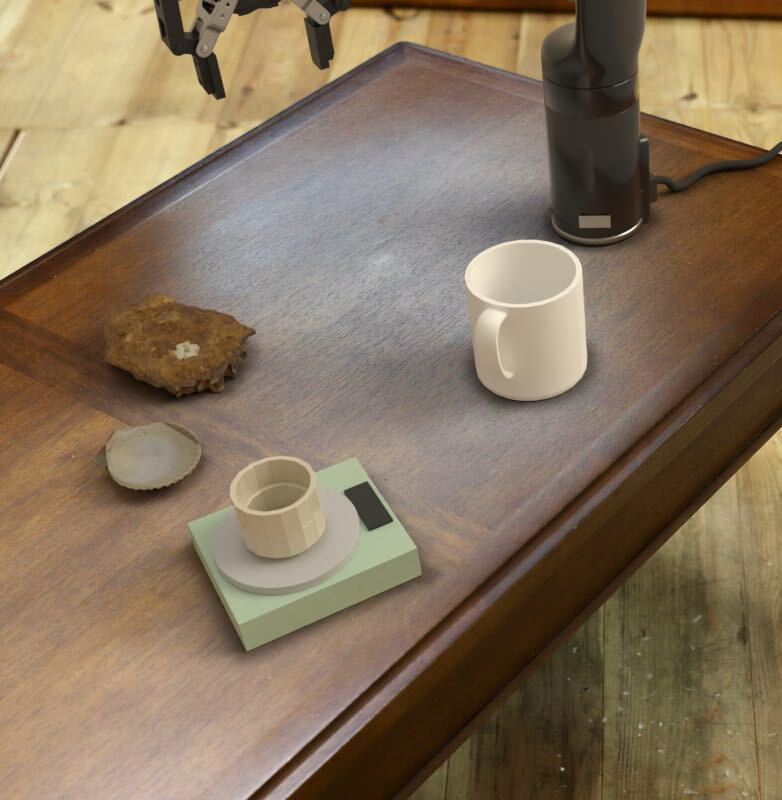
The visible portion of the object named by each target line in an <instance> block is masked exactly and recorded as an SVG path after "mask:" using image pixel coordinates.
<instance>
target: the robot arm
mask: <svg viewBox="0 0 782 800" xmlns="http://www.w3.org/2000/svg"><path fill="white" fill-rule="evenodd" d="M282 1H283V0H198V2H197V5H196V7H195V11H194V12H195V16H194V18H193V21H192V23H191V25H190V27H189V30H188V31H185V29H184V23H183V19H182V14H181V8H180V2H182V0H153V4H154V10H155V15H156V18H157V19H156V20H157V24H158V30H159V34H160V40H161V41H162V42H163V44H164V45H165V47H166V48H168V50H169V51H170V52H171V53H172V54H173V56H176V57H182V56H183V55H190V56H191V57H192V62H193V66H194V69H195V70H194V71H195V73H196V77H197V81H198V84H199V85H200V86H201V87H202V89H203V90H204V92H206V94H207V95H208V96H210V95H212V96H213V98H214V99H215V101H219V100H222V99H227V94H226V90H225V87H224V82H223V78H222V73H221V69H220V65H219V61H218V57H217V54H216V53H215V52H214V48H215V46H216V44H217V42H218V39H219V38H220V35H221V34H222V33H224V32H225V31H226V30H227V27H228V24H229V23H230V20H231V18H232V16H233V15H237V16H238V17H242V16H247V15H250V14H252V13H253V12H255V11H257V10H259V9H260V10H261V9H266V10H267V9H268V10H269V9H273V8H276V7H279V6H280V5H279V3H280V2H282ZM290 1H291V2H292V3H293V4H294V5H295V6H296V7H297V8H299V9H300V10H301V11H303V13H305V14H306V17H303V21H304V27H305V31H306V37H307V42H308V47H309V53H310V58H311V60H312V63H313V65H314V66H315V67H317V68H318V70H319V71H323V70H327V69H330V67H331V65H330V61H332V60H334V57H335V47H334V42H333V37H332V31H331V26H330V25H331V24H330V22H331V19H332V17H333V16H334V15H336V14H338V13H339V12H346V11H347V10H349V8H350V7H351V4H352V3H351V2H352V1H351V0H290ZM568 1H569V2H572V3H575V20H574V21H571V22H568V23H565V24H562V25H560V26H558V27H556V28H554V29H553V30H551V31H550V32H548V34H547V35H545V36H544V38H543V41H542V42H541V46H540V63H541V64H540V65H541V78H542V91H543V105H544V118H545V119H544V120H545V129H546V130H545V132H546V147H547V159H548V161H547V162H548V173H549V189H550V202H551V203H550V209H551V214H550V215H551V216H550V217H551V226H552V228H553V230H554V231H555V233H556V234H557V235H559V236H560V237H562V239H565V240H567V241H570V242H572V243H575V244H580V245H588V246H600V245H601V246H603V245H610V244H614V243H618V242H621V241H623V240H626V239H628V238H630V237H631V236H633V235H635V233H637V232H638V231H639V230H640V228H641V227H642V225H643V224H644V223H647V222H649V221H650V220H651V204H654V203H656V202H658V185H664V186H666V187H667V189H669V190H670V191H672V192H681V191H684V190H687V188H690V187H691V185H693V184H694V183H696V182H697V181H698V180H700V179H701V178H702V177H704V176H705V175H707V174H710V173H714V172H718V171H723V170H733V169H735V170H736V169H737V170H738V169H747V168H748V169H749V168H753V167H758V166H761V165H764V164H766V163H767V162H769V161H771V160H772V159H774V158H775V157H776V156H777V155H779V154H780V153H781V152H782V140H781V141H779V142H778V143H777V144H775V145H774V146H773V147H772V148H771V149H769V150H768V151H767V152H766V153H764V154H762V155H759V156H756V157H753V158H752V157H751V158H747V159H746V158H745V159H733V160H721V161H715V162H711V163H708V164H705V165H703V166H701V167H699V168H698V169H696V170H694V171H693V172H692V173H691V174H690V175H689V176H687V177H686V178H685V179H684V180H681V181H679V182H678V181H677V182H675V181H674V180H673V179H672V178H671V177H669V176H667V175H658V174H657V175H655V174H654V173H652V172H651V171H650V139H649V138H648V136H647V135H646V134H645V133H643V132H642V131H641V107H640V106H641V97H640V96H641V95H640V51H641V46H642V44H643V39H644V36H645V30H646V24H647V23H646V22H647V0H568ZM770 152H771V153H770ZM773 153H774V154H773Z"/></svg>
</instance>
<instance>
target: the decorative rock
mask: <svg viewBox="0 0 782 800" xmlns="http://www.w3.org/2000/svg"><path fill="white" fill-rule="evenodd" d="M103 324H104V327H103V329H104V332H103V336H104V340H105V347H104V352H105V353H104V358H103V361H104V362H105V363H107V364H110V365H112V366H113V367H116V368H118V369H121V370H123V371H127V372H129V373H131V375H132V376H133V377H134V378H135V379H136V380H137V381H140V382H145V383H147V384H149V385H151V386H153V387H155V388H161V389H162V388H163V389H165V390H167V391H168V392H169V393H171V394H173V395H175V397H177V398H180V397H181V396H182V395H183V394H184V395H191V394H193V393H195V392H198V393H201V392H203V391H204V390H206V389H210V390H211V391H212V392H213V393H219V392H222V391H223V390H225V388H226V384H225V382H224V377H227V376H230V377H232V378H233V379H236V374H237V371H236V365H237V364H238V362H239V361H240V362H241V361H244V359H246V358H247V356H249V353H248V345H247V341H248V339H249V338H250V337H252V336H254V335H256V334H257V329H255V328H253V327H250V326H247V325H246V324H243V323H241V322H239V321H238V319H236V317H235V316H234V315H231V314H228V313H224V312H221V311H218V310H215V309H210V308H201V307H198V306H195V305H187V304H185V303H181V302H176V300H175V299H174V298H173V297H172V296H169V295H166V294H164V293H160V292H154V293H152V294H148V293H147V294H146V295H145V296H144V297H142V298H141V299H140V301H139V302H133V303H126V304H123V305H119V306H116V307H114V309H113V310H112V311H111V312H110V313H109V315H106V316H105V318H104V321H103Z"/></svg>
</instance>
